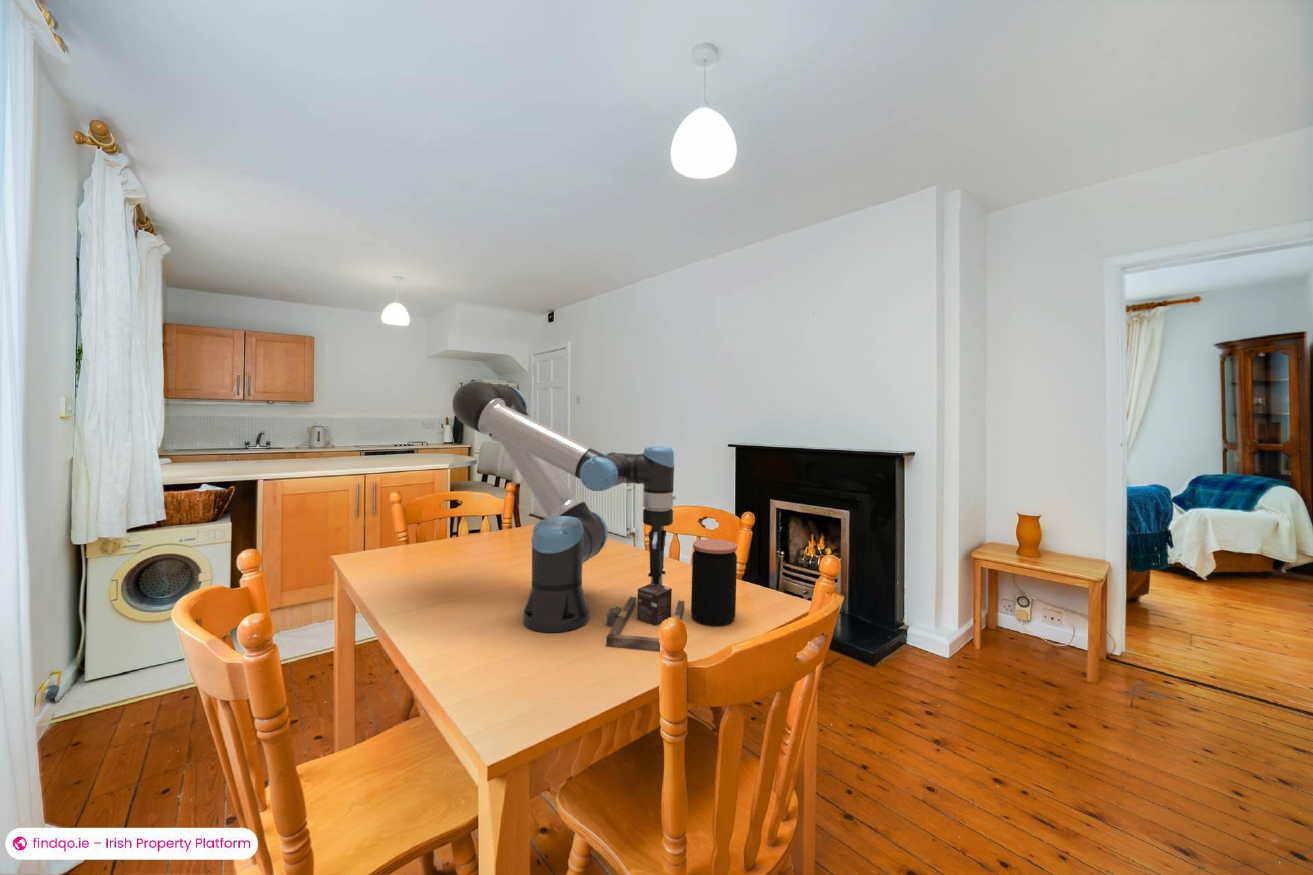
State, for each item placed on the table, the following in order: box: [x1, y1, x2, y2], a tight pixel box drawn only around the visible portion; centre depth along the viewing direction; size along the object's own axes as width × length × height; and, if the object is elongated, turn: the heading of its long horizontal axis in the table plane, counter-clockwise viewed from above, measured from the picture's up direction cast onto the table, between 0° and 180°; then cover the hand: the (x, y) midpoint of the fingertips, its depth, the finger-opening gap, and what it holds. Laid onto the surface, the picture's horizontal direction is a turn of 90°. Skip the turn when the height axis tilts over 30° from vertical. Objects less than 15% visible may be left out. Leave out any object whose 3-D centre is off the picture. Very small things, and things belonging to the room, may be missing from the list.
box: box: [636, 582, 673, 626], centre depth 119 cm, size 6×6×7 cm
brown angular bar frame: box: [606, 596, 685, 652], centre depth 115 cm, size 17×24×4 cm
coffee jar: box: [690, 538, 738, 627], centre depth 120 cm, size 11×11×18 cm
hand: (656, 600), depth 125 cm, fingers closed
